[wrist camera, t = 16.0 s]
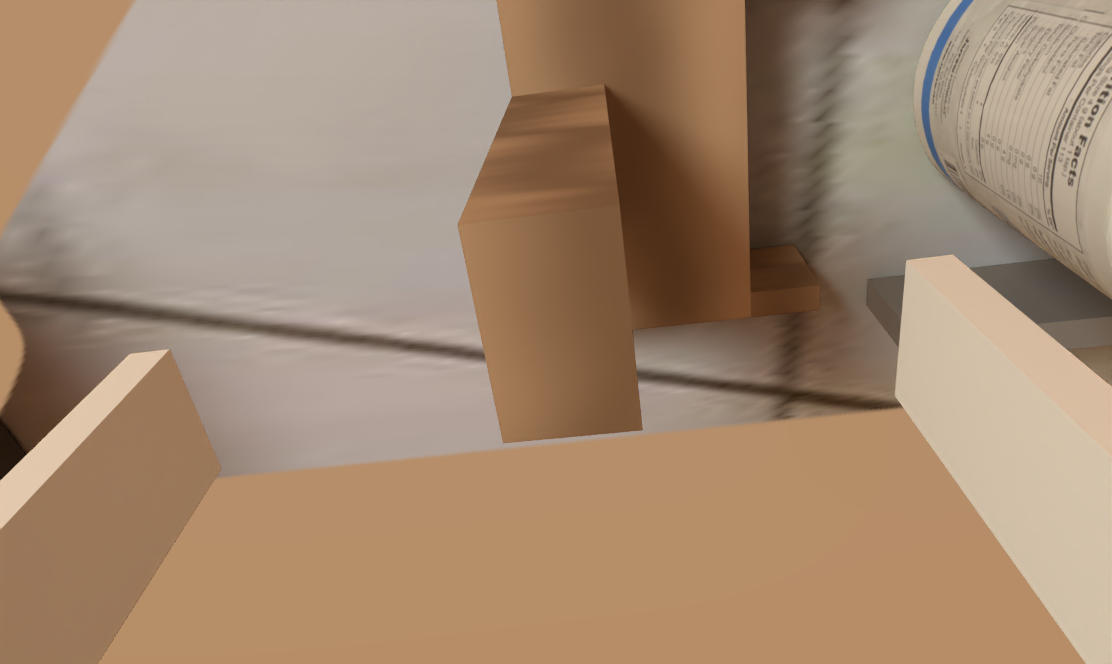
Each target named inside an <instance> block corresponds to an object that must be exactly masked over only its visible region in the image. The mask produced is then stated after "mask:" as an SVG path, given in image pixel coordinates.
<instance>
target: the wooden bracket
mask: <svg viewBox="0 0 1112 664" xmlns="http://www.w3.org/2000/svg"><path fill="white" fill-rule="evenodd" d="M497 6H498V12H499V19H500V25H501V31H502V37H503V44H504V50H505V56H506V62H507V69H508V75H509V81H510V87H511V93H512V98H511V100H510V103H509V105H508V107H507V110H506V112H505V114H504V117H503V119H502V121H501V124H500V126H499V128H498V131H497V133H496V136H495V138H494V140H493V143H492V145H491V147H490V150H489V152H488V154H487V157H486V159H485V161H484V164H483V166H482V168H481V171H480V173H479V176H478V178H477V180H476V183H475V185H474V187H473V190H472V192H471V194H470V197H469V199H468V201H467V204H466V206H465V208H464V211H463V213H462V216H461V218H460V220H459V223H458V229H459V234H460V239H461V243H462V248H463V253H464V258H465V263H466V267H467V272H468V277H469V282H470V286H471V291H472V296H473V301H474V306H475V310H476V315H477V320H478V325H479V330H480V334H481V339H482V344H483V349H484V353H485V358H486V363H487V368H488V373H489V377H490V382H491V387H492V392H493V396H494V401H495V406H496V411H497V416H498V420H499V425H500V430H501V435H502V440H503V443H511V442H522V441H532V440H543V439H554V438H565V437H575V436H586V435H597V434H608V433H618V432H629V431H640V430H643V429H642V419H641V409H640V400H639V390H638V380H637V370H636V360H635V351H634V341H633V331H632V330H634V329H644V328H653V327H663V326H672V325H682V324H691V323H701V322H710V321H720V320H729V319H738V318H748V317H757V316H767V315H776V314H786V313H795V312H805V311H814V310H820V289H821V285H820V284H819V282H818V281H817V279H816V278H815V276H814V275H813V273H812V272H811V270H810V269H809V267H808V266H807V264H806V263H805V261H804V259H803V258H802V256H801V255H800V253H799V252H798V250H797V249H796V247H795V246H794V244H793V245H784V246H775V247H767V248H758V249H750V242H749V190H748V138H747V86H746V34H745V0H497Z"/></svg>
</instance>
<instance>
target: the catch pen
mask: <svg viewBox="0 0 1112 664" xmlns="http://www.w3.org/2000/svg"><path fill="white" fill-rule="evenodd" d="M969 269H971V270H972V271H973V272H974V273H975V274H977V275H978V276H979V277H980V278H981V279H983V280H984V281H985V282H986V283H987V284H989V285H990V286H991V287H992V288H993V289H995V290H996V291H997V292H998V293H999V294H1001V295H1002V296H1003V297H1004V298H1005V299H1007V300H1008V301H1009V302H1010V303H1011V304H1013V305H1014V306H1015V307H1016V308H1017V309H1019V310H1020V311H1021V312H1022V313H1023V314H1025V315H1026V316H1027V317H1028V318H1029V319H1031V320H1032V321H1033V322H1034V323H1035V324H1037V325H1038V326H1039V327H1040V328H1041V329H1043V330H1044V331H1045V332H1046V333H1047V334H1049V335H1050V336H1051V337H1052V338H1053V339H1055V340H1056V341H1057V342H1058V343H1059V344H1061V345H1062V346H1063V347H1064V348H1066V349H1067V350H1071V349H1081V348H1091V347H1101V346H1111V345H1112V300H1111V299H1110V298H1109V297H1107V296H1106V295H1105V294H1103V293H1102V292H1100V291H1099V290H1098V289H1096V288H1095V287H1094V286H1092V285H1091V284H1089V283H1088V282H1087V281H1085V280H1084V279H1083V278H1081V277H1080V276H1078V275H1077V274H1076V273H1074V272H1073V271H1072V270H1070V269H1069V268H1068V267H1066V266H1065V265H1063V264H1062V263H1061V262H1059V261H1058V260H1057V259H1049V260H1040V261H1031V262H1022V263H1013V264H1004V265H995V266H986V267H977V268H969ZM904 282H905V275H904V276H895V277H886V278H877V279H868V291H867V306H868V308H869V309H870V310H871V312H872V313H873V314H874V315H875V317H876V318H877V319H878V321H879V322H880V323H881V325H882V326H883V327H884V329H885V330H886V331H887V333H888V334H889V335H890V337H891V338H892V339H893V341H894V342H895V343H896V345H897V346H898V347H899V340H900V328H901V317H902V305H903V293H904Z"/></svg>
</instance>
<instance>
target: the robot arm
mask: <svg viewBox="0 0 1112 664" xmlns="http://www.w3.org/2000/svg"><path fill="white" fill-rule="evenodd" d="M895 397H896V398H897V400H898V401H899V402H900V404H901V405H902V407H903V408H904V409H905V411H906V412H907V413H908V415H909V416H910V418H911V419H912V421H913V422H914V423H915V425H916V426H917V428H918V429H919V430H920V432H921V433H922V435H923V436H924V437H925V439H926V440H927V442H928V443H929V445H930V446H931V447H932V449H933V450H934V452H935V453H936V454H937V456H938V457H939V458H940V460H941V461H942V463H943V464H944V466H945V467H946V468H947V470H948V471H949V473H950V474H951V475H952V477H953V478H954V479H955V481H956V482H957V484H958V485H959V486H960V488H961V489H962V491H963V492H964V494H965V495H966V496H967V498H968V499H969V501H970V502H971V503H972V505H973V506H974V508H975V509H976V510H977V512H978V513H979V515H980V516H981V517H982V519H983V520H984V522H985V523H986V524H987V526H988V527H989V529H990V530H991V531H992V533H993V534H994V536H995V537H996V538H997V540H998V541H999V542H1000V544H1001V545H1002V547H1003V548H1004V550H1005V551H1006V552H1007V554H1008V555H1009V557H1010V558H1011V559H1012V561H1013V562H1014V563H1015V565H1016V566H1017V568H1018V569H1019V571H1020V572H1021V574H1022V575H1023V576H1024V578H1025V579H1026V581H1027V582H1028V583H1029V584H1030V586H1031V588H1032V589H1033V590H1034V592H1035V593H1036V595H1037V596H1038V597H1039V599H1040V600H1041V601H1042V603H1043V604H1044V606H1045V607H1046V609H1047V610H1048V611H1049V613H1050V614H1051V616H1052V617H1053V618H1054V620H1055V621H1056V622H1057V624H1058V625H1059V626H1060V628H1061V629H1062V631H1063V632H1064V634H1065V635H1066V636H1067V638H1068V639H1069V641H1070V642H1071V644H1072V645H1073V646H1074V648H1075V649H1076V651H1077V652H1078V653H1079V655H1080V656H1081V658H1082V659H1083V660H1084V662H1085V663H1086V664H1112V387H1111V386H1110V385H1109V384H1108V383H1106V382H1105V381H1104V380H1103V379H1102V378H1100V377H1099V376H1098V375H1097V374H1096V373H1094V372H1093V371H1092V370H1091V369H1090V368H1088V367H1087V366H1086V365H1085V364H1084V363H1082V362H1081V361H1080V360H1079V359H1078V358H1076V357H1075V356H1074V355H1073V354H1072V353H1070V352H1069V351H1068V350H1067V349H1066V348H1064V347H1063V346H1062V345H1061V344H1059V343H1058V342H1057V341H1056V340H1055V339H1053V338H1052V337H1051V336H1050V335H1049V334H1047V333H1046V332H1045V331H1044V330H1043V329H1041V328H1040V327H1039V326H1038V325H1037V324H1035V323H1034V322H1033V321H1032V320H1031V319H1029V318H1028V317H1027V316H1026V315H1025V314H1023V313H1022V312H1021V311H1020V310H1019V309H1017V308H1016V307H1015V306H1014V305H1013V304H1011V303H1010V302H1009V301H1008V300H1007V299H1005V298H1004V297H1003V296H1002V295H1001V294H999V293H998V292H997V291H996V290H995V289H993V288H992V287H991V286H990V285H989V284H987V283H986V282H985V281H984V280H983V279H981V278H980V277H979V276H978V275H977V274H975V273H974V272H973V271H972V270H971V269H969V268H968V267H967V266H966V265H965V264H963V263H962V262H961V261H960V260H959V259H957V258H956V257H955V256H954V255H945V256H937V257H929V258H920V259H912V260H906V270H905V282H904V293H903V305H902V317H901V328H900V340H899V352H898V363H897V375H896V387H895ZM220 470H221V467H220V464H219V462H218V460H217V457H216V455H215V453H214V451H213V448H212V446H211V444H210V441H209V439H208V437H207V434H206V432H205V430H204V427H203V425H202V423H201V420H200V418H199V416H198V414H197V411H196V409H195V407H194V404H193V402H192V400H191V397H190V395H189V393H188V390H187V388H186V386H185V383H184V381H183V379H182V376H181V374H180V372H179V370H178V367H177V365H176V363H175V360H174V358H173V356H172V353H171V351H170V349H166V350H158V351H150V352H142V353H133V354H129V355H128V356H127V357H126V358H125V359H124V360H123V361H122V362H121V363H120V364H119V365H118V366H117V367H116V368H115V369H114V370H113V371H112V372H111V373H110V374H109V375H108V376H107V377H106V378H105V379H104V380H103V381H102V382H101V383H100V384H99V385H97V386H96V387H95V388H94V389H93V390H92V391H91V392H90V393H89V394H88V395H87V396H86V397H85V398H84V399H83V400H82V401H81V402H80V403H79V404H78V405H77V406H76V407H75V408H74V409H73V410H72V411H71V412H70V413H69V414H68V415H67V416H66V417H65V418H64V419H63V420H62V421H61V422H60V423H59V424H58V425H57V426H56V427H55V428H54V429H53V430H52V431H50V432H49V433H48V434H47V435H46V436H45V437H44V438H43V439H42V440H41V441H40V442H39V443H38V444H37V445H36V446H35V447H34V448H33V449H32V450H31V451H30V452H29V453H28V454H27V455H26V456H25V455H24V453H23V451H22V450H21V448H20V447H19V445H18V444H17V443H16V441H15V440H14V438H13V437H12V436H11V435H10V434H9V432H8V431H7V430H6V429H5V428H4V426H3V425H2V424H1V423H0V664H98V663H99V661H100V659H101V658H102V656H103V655H104V653H105V652H106V650H107V648H108V647H109V645H110V644H111V642H112V641H113V639H114V637H115V636H116V634H117V633H118V631H119V629H120V628H121V626H122V625H123V623H124V622H125V620H126V618H127V617H128V615H129V614H130V612H131V611H132V609H133V607H134V606H135V604H136V603H137V601H138V599H139V598H140V596H141V595H142V593H143V592H144V590H145V588H146V587H147V585H148V584H149V582H150V580H151V579H152V577H153V576H154V574H155V572H156V571H157V570H158V568H159V566H160V565H161V563H162V561H163V560H164V558H165V557H166V555H167V554H168V552H169V550H170V549H171V547H172V546H173V544H174V542H175V541H176V540H177V538H178V536H179V535H180V533H181V532H182V530H183V528H184V527H185V525H186V524H187V522H188V521H189V519H190V517H191V516H192V514H193V512H194V511H195V509H196V508H197V506H198V505H199V503H200V501H201V500H202V499H203V497H204V495H205V494H206V492H207V491H208V489H209V487H210V486H211V484H212V483H213V481H214V480H215V478H216V476H217V475H218V473H219V472H220Z"/></svg>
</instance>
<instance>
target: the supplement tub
mask: <svg viewBox="0 0 1112 664" xmlns="http://www.w3.org/2000/svg"><path fill="white" fill-rule="evenodd" d="M913 108H914V117H915V123H916V127H917V131H918V135H919V138H920V141H921V143H922V145H923V148H924V150H925V152H926V154H927V155H928V157H929V158H930V160H931V161H932V163H933V164H934V165H935V166H936V168H937V169H938V170H939V171H940V172H941V173H942V174H943V175H944V176H945V177H946V178H947V179H948V180H950V181H951V182H952V183H953V184H955V185H956V186H957V187H958V188H960V189H961V190H962V191H964V192H965V193H966V194H968V195H969V196H970V197H972V198H973V199H975V200H976V201H978V202H979V203H980V204H982V205H983V206H984V207H985V208H987V209H988V210H990V211H991V212H992V213H993V214H995V215H996V216H998V217H999V218H1000V219H1002V220H1003V221H1004V222H1006V223H1007V224H1008V225H1010V226H1011V227H1013V228H1014V229H1015V230H1017V231H1018V232H1019V233H1021V234H1022V235H1024V236H1025V237H1026V238H1028V239H1029V240H1030V241H1032V242H1033V243H1035V244H1036V245H1037V246H1039V247H1040V248H1041V249H1043V250H1044V251H1046V252H1047V253H1048V254H1050V255H1051V256H1052V257H1054V258H1055V259H1057V260H1058V261H1059V262H1061V263H1062V264H1063V265H1065V266H1066V267H1068V268H1069V269H1070V270H1072V271H1073V272H1074V273H1076V274H1077V275H1078V276H1080V277H1081V278H1083V279H1084V280H1085V281H1087V282H1088V283H1089V284H1091V285H1092V286H1094V287H1095V288H1096V289H1098V290H1099V291H1100V292H1102V293H1103V294H1105V295H1106V296H1107V297H1109V298H1110V299H1111V300H1112V0H951V1H950V2H949V4H948V5H947V6H946V8H945V9H944V10H943V12H942V13H941V15H940V17H939V18H938V20H937V21H936V23H935V25H934V26H933V28H932V30H931V32H930V34H929V36H928V39H927V41H926V43H925V45H924V48H923V51H922V54H921V57H920V60H919V63H918V66H917V71H916V75H915V82H914V92H913Z"/></svg>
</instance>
